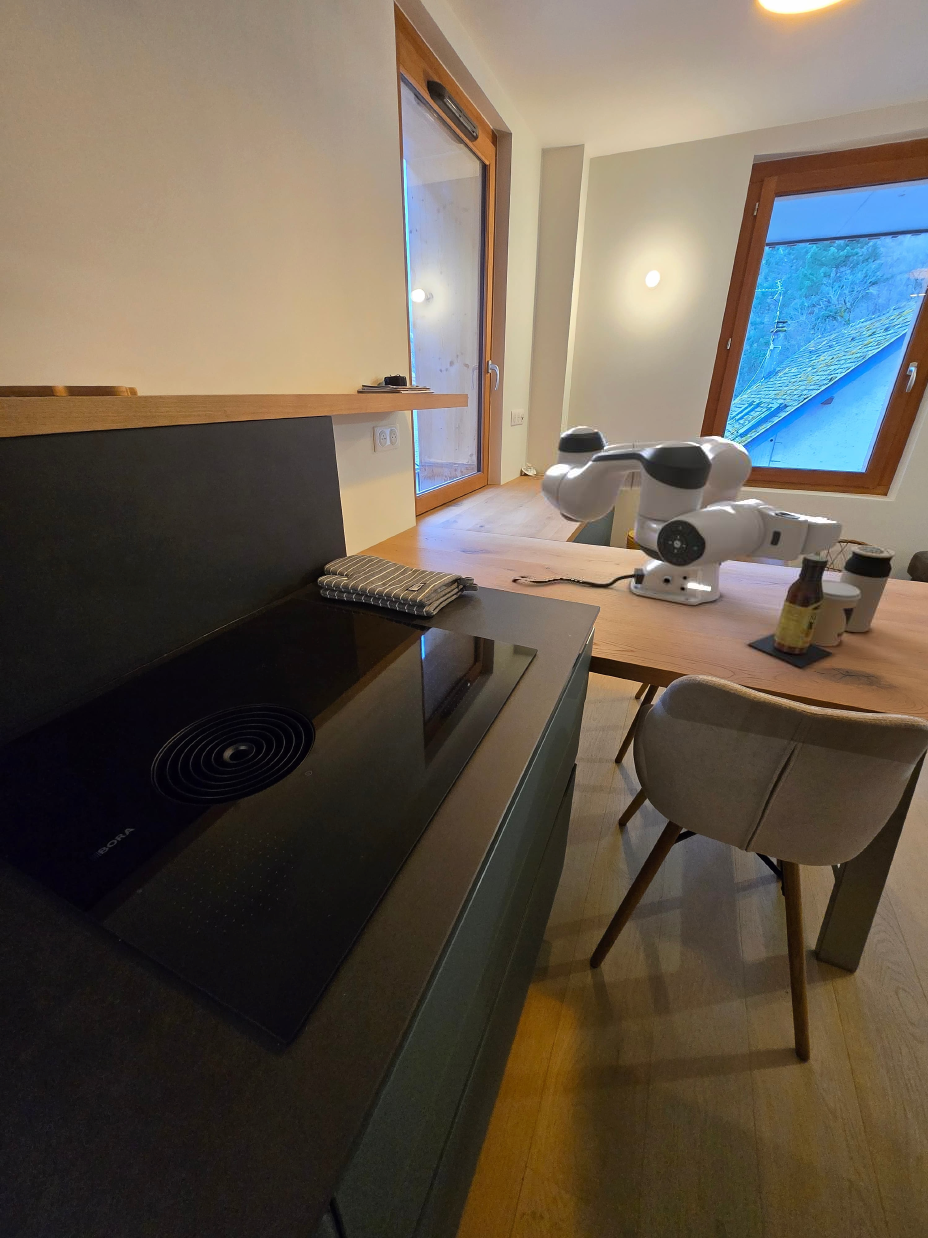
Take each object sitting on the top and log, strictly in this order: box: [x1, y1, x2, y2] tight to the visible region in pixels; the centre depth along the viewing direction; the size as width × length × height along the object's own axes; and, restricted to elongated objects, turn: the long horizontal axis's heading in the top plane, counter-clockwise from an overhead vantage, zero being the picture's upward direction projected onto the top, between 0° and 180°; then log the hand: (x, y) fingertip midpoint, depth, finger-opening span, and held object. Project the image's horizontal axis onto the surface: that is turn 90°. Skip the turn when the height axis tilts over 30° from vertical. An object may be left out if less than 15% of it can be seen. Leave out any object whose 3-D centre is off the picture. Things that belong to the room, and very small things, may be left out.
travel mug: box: [838, 544, 897, 633], centre depth 109 cm, size 8×8×18 cm
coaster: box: [747, 633, 833, 669], centre depth 103 cm, size 11×11×1 cm
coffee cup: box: [810, 579, 861, 647], centre depth 105 cm, size 9×9×12 cm
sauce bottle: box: [773, 554, 829, 654], centre depth 99 cm, size 7×6×20 cm
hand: (794, 517), depth 85 cm, fingers open, 8 cm apart
